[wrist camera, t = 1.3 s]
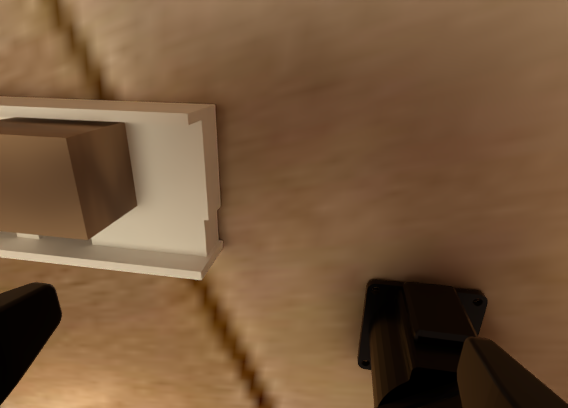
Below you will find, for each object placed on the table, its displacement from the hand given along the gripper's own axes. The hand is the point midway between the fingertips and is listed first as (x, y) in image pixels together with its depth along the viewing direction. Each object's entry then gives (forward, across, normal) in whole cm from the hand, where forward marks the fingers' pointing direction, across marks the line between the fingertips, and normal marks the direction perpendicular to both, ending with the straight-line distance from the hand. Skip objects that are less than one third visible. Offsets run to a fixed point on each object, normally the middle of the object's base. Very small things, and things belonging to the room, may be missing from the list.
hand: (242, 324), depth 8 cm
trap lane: (+12, +16, +1) cm, 20 cm away
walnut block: (+10, +12, 0) cm, 16 cm away
